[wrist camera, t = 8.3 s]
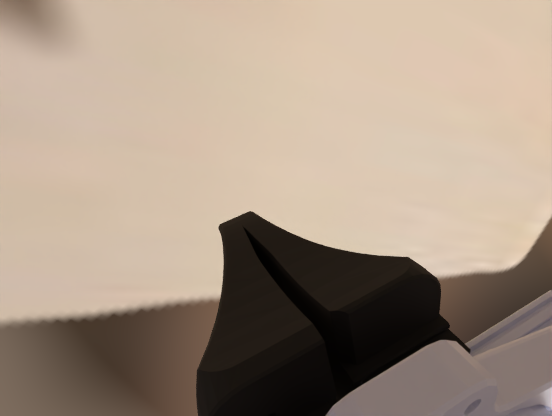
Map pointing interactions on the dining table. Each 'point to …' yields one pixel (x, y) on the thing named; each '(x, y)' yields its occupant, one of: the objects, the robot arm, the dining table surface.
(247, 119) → the dining table surface
